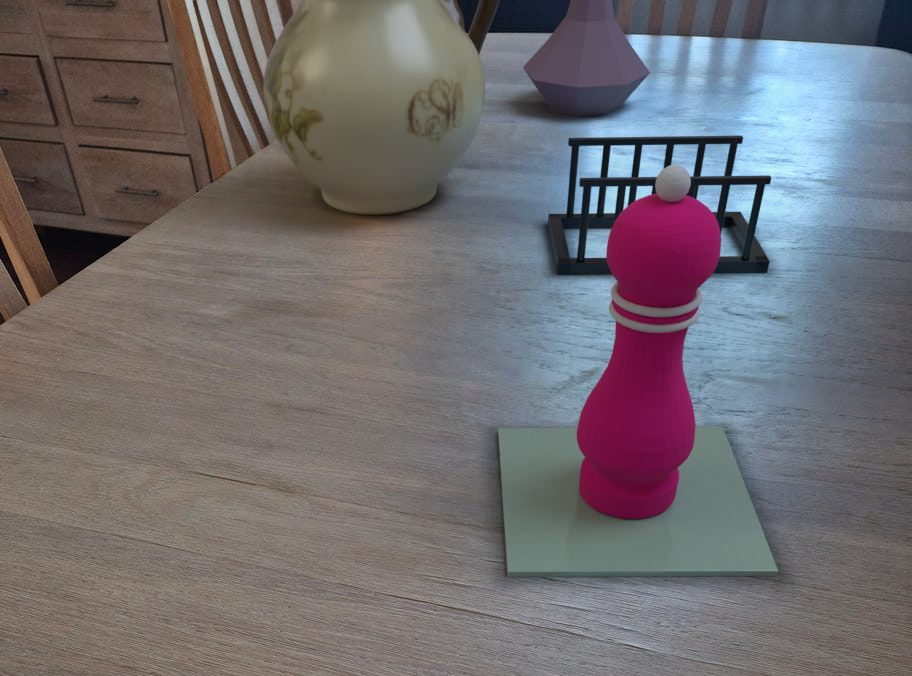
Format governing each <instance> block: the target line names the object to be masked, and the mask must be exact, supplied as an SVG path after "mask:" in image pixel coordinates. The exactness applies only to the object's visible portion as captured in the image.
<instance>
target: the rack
mask: <svg viewBox="0 0 912 676" xmlns="http://www.w3.org/2000/svg"><path fill="white" fill-rule="evenodd" d="M743 141H744V137H743V135H683V136H682V135H681V136H679V135H677V136H674V135H673V136H672V135H671V136H670V135H669V136H611V137H610V136H609V137H608V136H607V137H606V136H604V137H598V136H597V137H596V136H595V137H568V140H567V145H568V147H571V151H570V152H571V154H570V162H569V163H570V164H569V177H568V189H567V201H566V202H567V204H566V213H548V214H547V215H548V217H547V228H548V229H547V230H548V234H549V240H550V244H551V245H550V246H551V249H552V256H553V261H554V266H555V271H556V276H605V275H606V276H607V275H608V276H610V275H611V276H613V274H612V272H611V270H610V268H609V266H608V262H607V257H586V250H587V249H586V248H587V237H588V230H601V229H602V230H608V229H610V230H611V229H612V227H613V225H614V222H615V220H616V219H617V217H618V216H619V215H620V213H621V212H622V211H623V210H624V209H625V208H624V207H625V199H626V192H627V189H626V188H627V187H629V192H628V200H627V206H629V205H630V204H631V203H633V202H634V201H636V200H637V192H638V187H652V188H651V193H650V195H653V194H657V193H656V188H655V184H656V179H657V177H658V176H640V169H641V168H640V167H641V161H642V160H641V159H642V152H643V146H665V154H664V160H663V166H662V167H663V168H662V170H663V169H664V168H666V167H668V166H670V165H672V162H673V155H674V151H675V150H674V149H675V146H683V145H684V146H687V145H688V146H690V145H692V146H693V145H695V146H696V145H697V149H696V156H695V162H694V169H693V175H692V176H690V179H691V185H690V188H689V191H688V193H687V194H686V196H690V197H692V198H694V199H697V200H698V194H699V187H700V186H721V188H720V194H719V198H718V205H717V210H716V211H711V212H712V213H713V214H714V216H715V218H716V220H717V221H718V225H719V228H720V234H721V235H722V232H723V228H729V230H730V232H731V234H732V236H733V237H734V240H735V242H736V243H737V245H738V246H739V248H740V251H741V252H742V253H741V256H740V255H736V256H735V255H731V256H730V255H729V256H722V255H720V257H719V260H718V263H717V267H716V269H715V270H714V272H713V274H712V275H714V274H716V275H717V274H767V273H768V270H769V266H770V262H771V261H770V259H769V257H768V255H767V254H766V253H765V250H764V249H763V247H762V246H761V244H760V242H759V240H758V238H757V237H756V236H755V234H756V231H757V225H758V220H759V215H760V211H761V208H762V207H761V206H762V202H763V197H764V193H765V189H766V185H771V182H772V176H771V175H767V174H766V175H733V171H734V166H735V161H736V155H737V150H738V145H742V144H743ZM707 145H729V148H728V153H727V158H726V164H725V169H724V174H723V175H702V172H703V171H702V170H703V165H704V159H705V153H706V146H707ZM612 146H614V147H615V146H618V147H619V146H620V147H621V146H634V150H633V159H632V166H631V167H632V168H631V175H630V176H623V177H621V176H620V177H619V176H618V177H617V176H616V177H614V176H612V177H609V166H610V157H611V148H612ZM580 147H602V155H601V165H600V176H599V177H580V178H579V183H578V184H579V187H580V188H582V196H581V197H582V199H581V208H580V209H581V211H580V213H575V201H576V190H577V179H578V178H577V177H578V168H579V167H578V165H579V155H580V154H579V153H580ZM731 186H755V191H754V196H753V201H752V206H751V211H750V215H749V220H748V222H747V219H745V217H744V215H743V213H742V212H741V211H726V210H727V205H728V201H729V195H730V189H731ZM609 187H610V188H611V187H612V188H613V187H617V189H616V190H617V192H616V200H615V209H614V212H605V205H606V196H607V188H609ZM592 188H598V195H597V205H596V206H597V207H596V212H595V213H594V212H592V213H590V206H591V195H592ZM565 230H579V231H578V241H577V242H578V243H577V253H576V254H577V255H576V257H571V256H570V252H569V247H568V242H567V238H566V233H565Z"/></svg>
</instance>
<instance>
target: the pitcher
mask: <svg viewBox="0 0 912 676" xmlns="http://www.w3.org/2000/svg"><path fill="white" fill-rule="evenodd" d="M500 2H501V0H479V2H478V5H477V8H476V10H475V14H474V16H473V19H472V22H471V25H470V28H469V30H468V33H467V32H466V27H465V19H464V15H463V13H462V10H461V9H460V6H459V4H458V1H457V0H301V1H300V2H299V4H298V5H297V7H296V9H295V11H294V12H293V13H292V14H291V17H290V18H289V19H288V21H287V22H286V23H285V25H284V27H283V29H282V31H280V34H279V35H278V37H277V39H276V41H275V43H274V45H273V47H272V49H271V51H270V53H269V56H268V58H267V62H266V65H265V69H264V75H263V83H262V94H263V104H264V109H265V113H266V114H265V115H266V117H267V120H268V121H267V122H268V123H269V126H270V128H271V131H272V132H273V135H274V137H275V139H276V141H277V143H278V145H279V146H280V148H281V149H282V151H283V152H284V154H285V155H286V157H288V159H289V160H290V161H291V162H292V164H293V165H294V166H295V167H296V169H298V170H299V171H300V172H301V174H303V176H305V177H306V179H308V180H309V181H310V182H311V183H313V184H314V185H315V186H316V187H318V188H319V189H320V192H321V196H322V199H323V201H324V202H325V203H326V204H327V205H328V206H330V207H331V208H333V209H335V210H337V211H340V212H343V213H349V214H353V215H365V216H380V215H381V216H382V215H383V216H384V215H393V214H399V213H404V212H408V211H412V210H415V209H418V208H420V207H423V206H424V205H426V204H428V203H429V202H430V201H431V200H433V198H435V196H436V193H437V189H438V184H439V183H440V182H441V181H442V180H443V179H444V178H445V177H447V175H449V173H451V171H452V170H453V169H454V168H455V167H456V166H457V164H458V163H459V162H460V161H461V159H462V158H463V156H464V155H465V153H466V152H467V150H468V149H469V147H470V145H471V144H472V142H473V140H474V139H475V136H476V133H477V131H478V128H479V126H480V125H481V121H482V120H481V119H482V116H483V112H484V107H485V103H486V101H485V100H486V77H485V71H484V67H483V63H482V60H481V58H480V54H481V51H482V49H483V45H484V43H485V40H486V37H487V35H488V33H489V30H490V28H491V25H492V23H493V21H494V18H495V16H496V14H497V11H498V8H499V4H500Z"/></svg>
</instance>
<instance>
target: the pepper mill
mask: <svg viewBox="0 0 912 676" xmlns="http://www.w3.org/2000/svg"><path fill="white" fill-rule="evenodd" d="M656 177H657V179H656V184H655V188H656V193H657V194H653V195H651V194H649V195H645V196H643V197H640V198H638V199H636V200H635V201H634V202H633V203H631V204H630V205H629V206H628V205H627V206H626V207H625V208H623V211H622V212H621V213H620V215H619V216H618V217H617V219H616V220H615V222H614V225H613V227H612V229H610V232H609V234H608V238H607V243H606V244H607V245H606V254H605V255H606V256H605V258H607V262H608V266H609V268H610V270H611V272H612V274H613V275H612V276H613V277H614V279H615V280H616V282H615V283H614V284H613V285H612V287H611V289H610V296H611V301H610V303H609V305H608V311H609V314H610V316H611V317H612V319H613V320H615V329H614V333H615V334H614V335H615V336H614V341H613V346H612V350H611V351H612V352H611V355H610V358H609V361H608V363H607V366H606V367H605V369H604V371H603V373H602V375H600V378H599V380H598V381H597V383H596V384H595V386H594V387H593V389H592V390H591V392H590V393H589V395H588V396H587V398H586V399H585V402H584V405H583V407H582V409H581V410H580V414H579V419H578V423H577V427H576V428H577V443H578V446H579V448H580V451H581V452H582V454H583V455H584V457H585V458H584V460H583V461H582V464H581V469H580V479H579V492H580V494H581V496H582V498H583V499H584V500H585V502H586V503H587V504H588V505H589V506H591V507H592V508H594V509H595V510H597V511H599V512H601V513H604V514H606V515H609V516H613V517H617V518H625V519H641V518H648V517H651V516H655V515H658V514H659V513H661V512H663V511H665V510H666V509H668V508H669V507H670V505H671V504H672V503H673V501H674V499H675V496H676V491H677V486H678V481H679V470H678V467H679V466H680V465H682V464H683V463H684V462H685V460H686V459H687V458H688V457H689V455H690V453H691V451H692V449H693V446H694V438H695V427H697V426H696V425H697V424H696V417H695V410H694V409H695V408H694V404H693V401H692V397H691V393H690V391H689V388H688V384H687V381H686V375H685V372H684V361H683V357H684V356H683V355H684V347H685V341H686V337H687V334H688V330H689V328H690V327H691V326H693V325H694V324H695V323H696V322H697V321H698V319H699V317H700V305H701V304H702V301H703V291H702V290H701V289H700V287H701V286H702V285H704V284H705V282H707V281H708V280H709V279H710V278H711V276H713V275H714V274H713V272H714V270H715V269H716V267H717V263H718V260H719V257H720V256H721V253H722V252H721V251H722V250H721V249H722V233H721V234H720V228H719V225H718V221H717V220H716V218H715V216H714V214H713V213H712V212H713V211H712V210H711V209H710V208H709V206H707V205H706V204H705V203H703V202H702V201H701V200H698V198H697V199H694V198H692V197H690V196H686V194H687V193H688V191H689V188H690V185H691V179H690V173H689V172H688V170H687V169H686V168H685V167H684V166H681V165H678V164H671V165H670V166H668V167H666V168H664V169H663V168H662V169H661V171H660V172H659V173H658V175H657V176H656Z"/></svg>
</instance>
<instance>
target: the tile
mask: <svg viewBox="0 0 912 676" xmlns="http://www.w3.org/2000/svg"><path fill="white" fill-rule="evenodd" d="M577 428H578V427H501V428H500V427H498V428H497V436H498V437H497V438H498V439H497V440H498V454H499V469H500V484H501V498H502V515H503V528H504V529H503V531H504V543H505V544H504V545H505V546H504V547H505V559H506V561H505V562H506V576H507V578H555V577H556V578H565V577H566V578H569V577H570V578H581V577H582V578H590V577H593V578H594V577H595V578H596V577H597V578H598V577H601V578H602V577H603V578H604V577H605V578H606V577H611V578H613V577H614V578H615V577H618V578H619V577H623V578H624V577H625V578H627V577H630V578H631V577H777V576H778V573H779V569H778V566H777V564H776V561H775V559H774V557H773V554H772V551H771V549H770V546H769V543H768V541H767V538H766V535H765V533H764V530H763V528H762V525H761V523H760V520H759V518H758V515H757V512H756V510H755V507H754V504H753V501H752V499H751V496H750V494H749V491H748V488H747V486H746V483H745V481H744V477H743V475H742V473H741V470H740V468H739V465H738V463H737V460H736V457H735V455H734V452H733V450H732V447H731V444H730V442H729V440H728V439H729V438H728V436H727V434H726V432H725V428H724V426H696V427H695V438H694V446H693V449H692V451H691V453H690V455H689V457H688V458H687V459H686V460H685V462H684V463H683V464H682V465H680V466H679V467H678V470H679V481H678V486H677V491H676V496H675V499H674V501H673V503H672V504H671V505H670V507H669V508H668V509H666V510H665V511H663V512H661V513H659V514H658V515H655V516H651V517H648V518H641V519H625V518H617V517H613V516H609V515H606V514H604V513H601V512H599V511H597V510H595V509H594V508H592V507H591V506H589V505H588V504H587V503H586V502H585V500H584V499H583V498H582V496H581V494H580V492H579V479H580V469H581V464H582V461H583V460H584V458H585V457H584V455H583V454H582V452H581V451H580V448H579V446H578V443H577Z"/></svg>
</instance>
